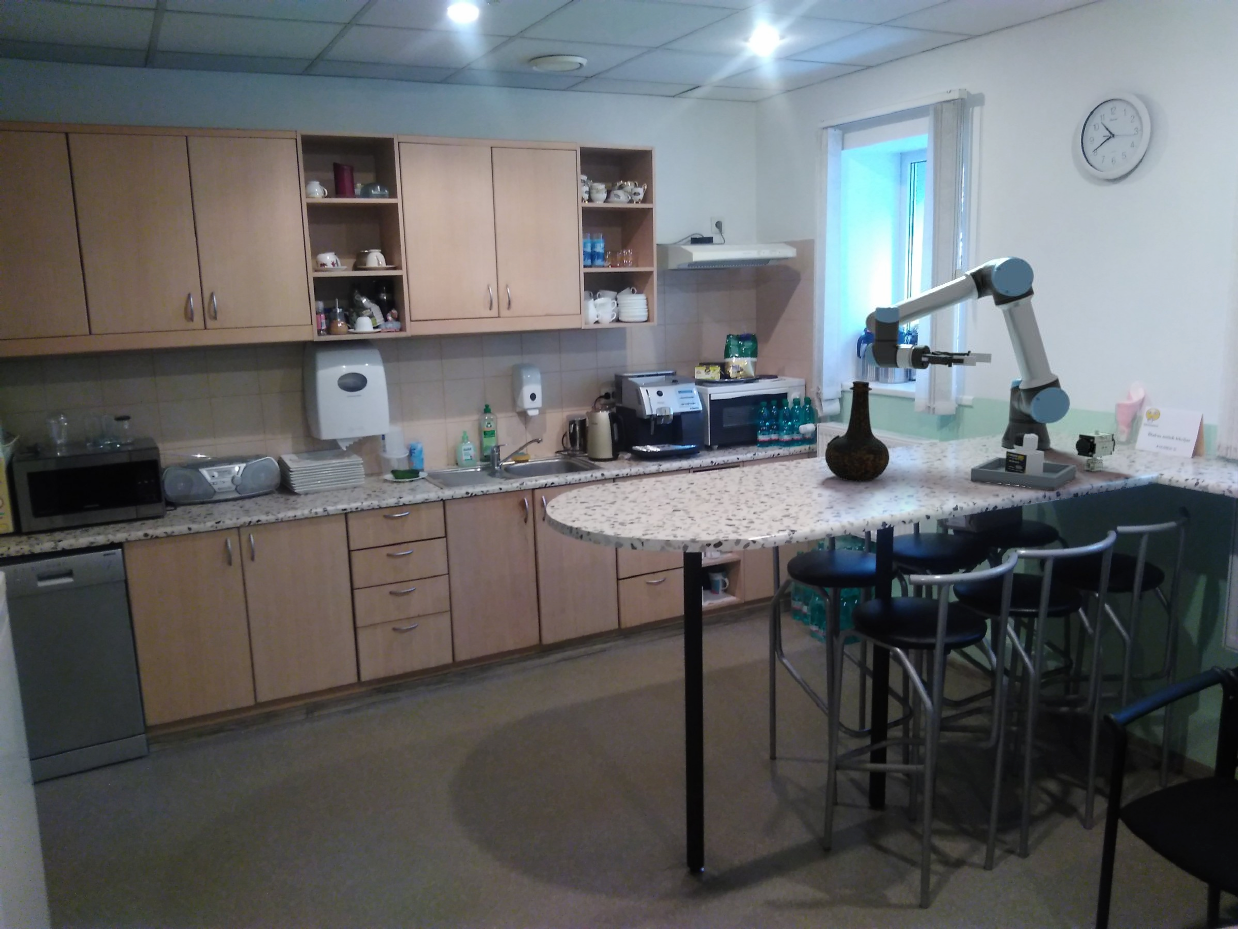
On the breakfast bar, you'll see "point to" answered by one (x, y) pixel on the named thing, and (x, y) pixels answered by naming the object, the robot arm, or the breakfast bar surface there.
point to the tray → (1024, 475)
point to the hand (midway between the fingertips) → (983, 359)
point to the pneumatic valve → (1095, 448)
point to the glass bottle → (857, 443)
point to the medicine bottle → (1025, 455)
